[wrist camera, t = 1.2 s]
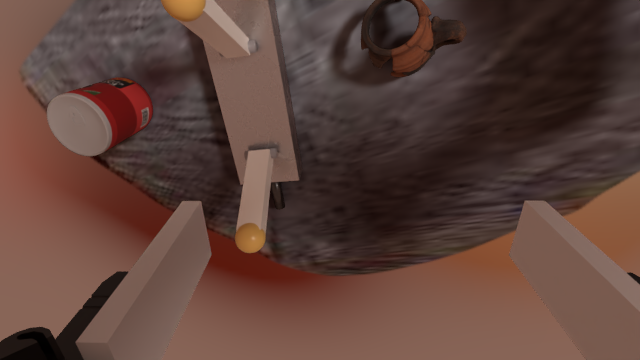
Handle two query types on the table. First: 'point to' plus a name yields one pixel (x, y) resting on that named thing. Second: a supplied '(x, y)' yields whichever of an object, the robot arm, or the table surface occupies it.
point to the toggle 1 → (211, 26)
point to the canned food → (99, 115)
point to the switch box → (257, 93)
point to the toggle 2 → (255, 200)
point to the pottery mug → (412, 40)
